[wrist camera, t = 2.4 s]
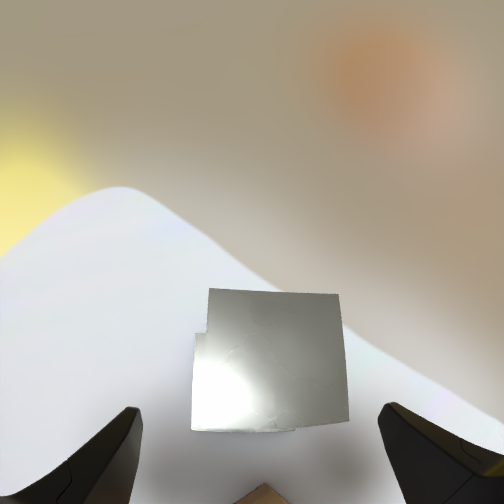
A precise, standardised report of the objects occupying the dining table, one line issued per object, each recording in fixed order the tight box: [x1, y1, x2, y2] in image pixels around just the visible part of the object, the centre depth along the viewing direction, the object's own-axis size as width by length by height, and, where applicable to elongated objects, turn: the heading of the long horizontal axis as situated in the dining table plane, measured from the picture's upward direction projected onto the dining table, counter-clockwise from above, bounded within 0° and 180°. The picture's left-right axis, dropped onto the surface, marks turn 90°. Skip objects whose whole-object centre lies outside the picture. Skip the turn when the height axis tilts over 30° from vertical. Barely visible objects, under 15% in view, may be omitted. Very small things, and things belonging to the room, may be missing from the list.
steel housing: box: [191, 288, 349, 432], centre depth 13 cm, size 6×6×11 cm
